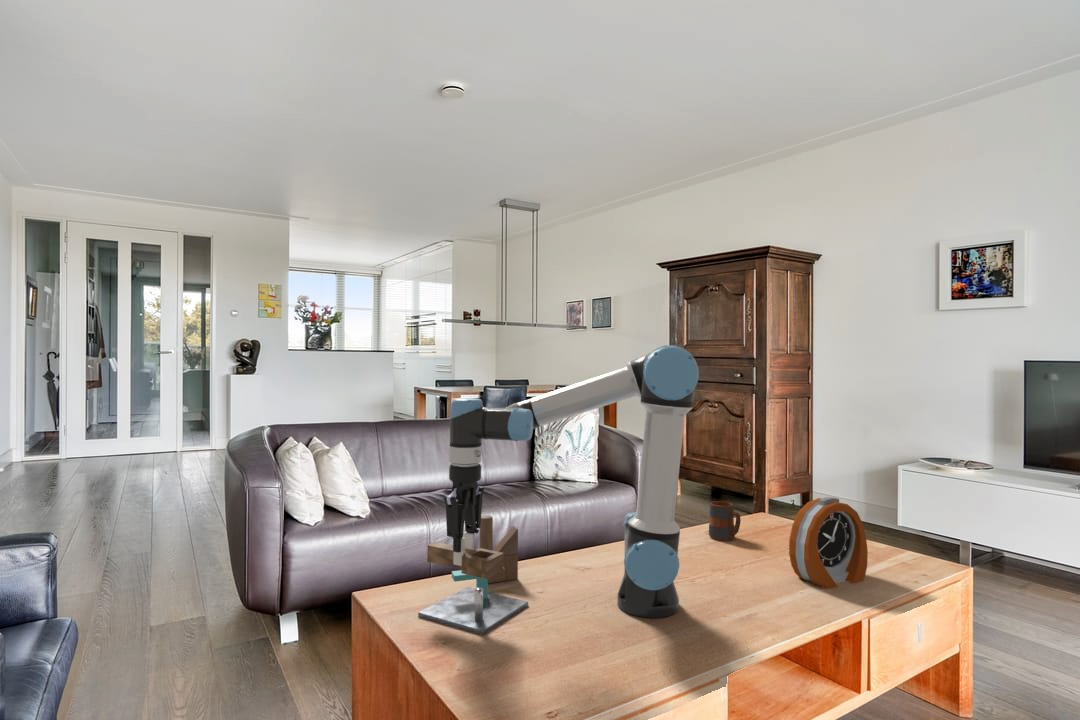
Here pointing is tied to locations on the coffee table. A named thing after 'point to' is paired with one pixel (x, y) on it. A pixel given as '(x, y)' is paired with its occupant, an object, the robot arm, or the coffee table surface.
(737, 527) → the mug
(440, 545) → the link
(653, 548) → the robot arm
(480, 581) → the keeper
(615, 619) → the coffee table surface
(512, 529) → the brown wooden bracket frame
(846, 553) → the alarm clock
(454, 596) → the base
